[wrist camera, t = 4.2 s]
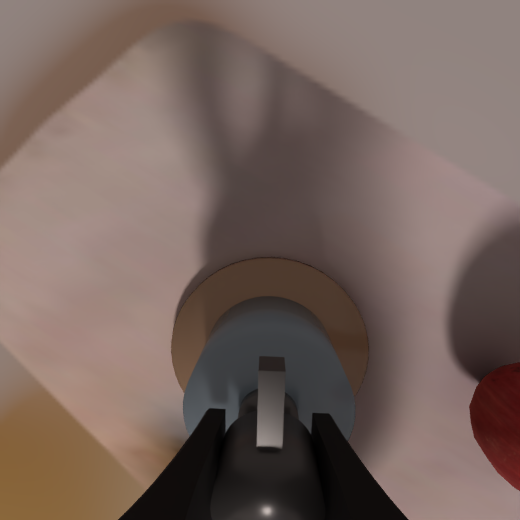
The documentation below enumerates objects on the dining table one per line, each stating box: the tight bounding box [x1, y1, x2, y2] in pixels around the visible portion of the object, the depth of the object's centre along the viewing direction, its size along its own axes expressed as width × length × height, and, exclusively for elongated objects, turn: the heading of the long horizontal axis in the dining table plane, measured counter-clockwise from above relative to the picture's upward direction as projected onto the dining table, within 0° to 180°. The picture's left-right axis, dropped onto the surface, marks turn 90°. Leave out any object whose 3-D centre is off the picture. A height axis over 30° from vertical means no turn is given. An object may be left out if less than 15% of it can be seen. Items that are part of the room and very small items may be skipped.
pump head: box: [210, 356, 325, 520], centre depth 9 cm, size 5×5×3 cm
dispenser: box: [171, 257, 369, 441], centre depth 14 cm, size 11×11×6 cm
